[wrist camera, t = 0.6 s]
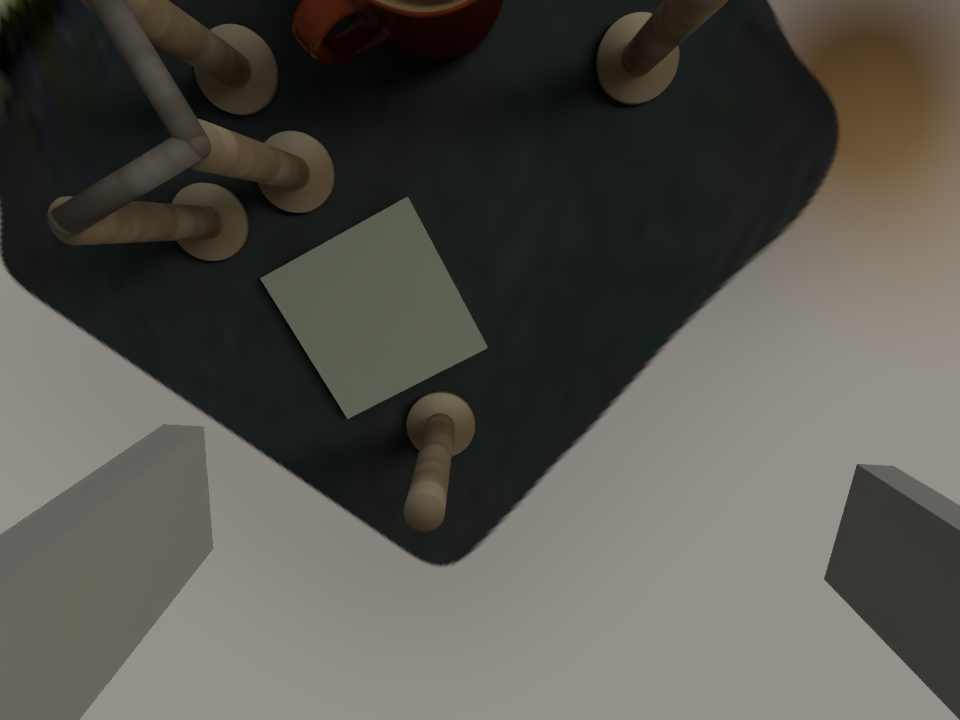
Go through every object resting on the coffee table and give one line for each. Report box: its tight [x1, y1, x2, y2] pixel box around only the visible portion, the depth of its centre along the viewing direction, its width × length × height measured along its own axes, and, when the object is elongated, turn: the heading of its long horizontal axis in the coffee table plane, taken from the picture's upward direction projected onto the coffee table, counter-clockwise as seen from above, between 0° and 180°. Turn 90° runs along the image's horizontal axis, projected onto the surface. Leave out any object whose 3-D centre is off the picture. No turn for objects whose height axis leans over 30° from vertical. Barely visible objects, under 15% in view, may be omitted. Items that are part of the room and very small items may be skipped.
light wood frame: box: [48, 0, 335, 261], centre depth 26 cm, size 11×11×13 cm
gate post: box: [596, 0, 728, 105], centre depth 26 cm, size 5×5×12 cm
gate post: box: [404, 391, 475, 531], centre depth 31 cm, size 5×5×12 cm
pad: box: [260, 197, 487, 419], centre depth 35 cm, size 11×11×1 cm
